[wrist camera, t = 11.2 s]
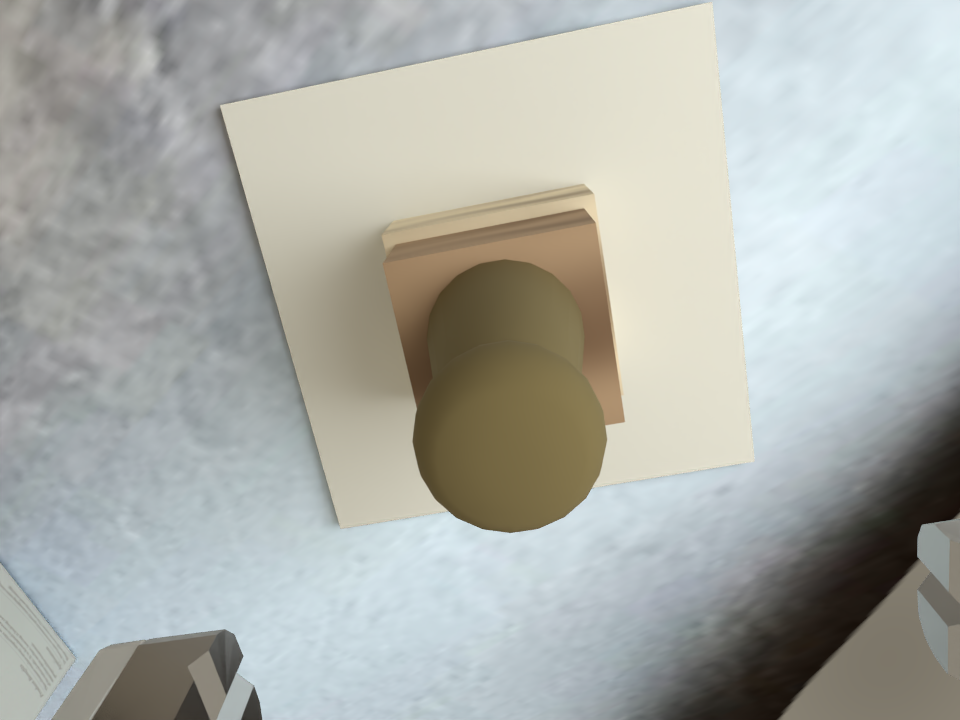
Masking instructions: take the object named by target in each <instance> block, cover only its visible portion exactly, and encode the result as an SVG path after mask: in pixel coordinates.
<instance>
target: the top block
mask: <svg viewBox="0 0 960 720" xmlns="http://www.w3.org/2000/svg"><path fill="white" fill-rule="evenodd" d="M503 259H507V260H514V261H521V262H528V263H531V264H534V265H536V266H538V267H540V268H542V269H544V270H546V271H548V272H550V273H552V274H553V275H554V276H555V277H556V278H557V279H558V280H559V281H561V282H562V283H563V284H564V285H565V286H566V287H567V288H568V289H569V290H570V291H571V293H572V295H573V297H574V299H575V301H576V303H577V305H578V307H579V309H580V311H581V314H582V321H583V328H584V335H585V338H584V352H583V365H582V374H583V375H584V376H585V377H586V378H587V379H588V381H589V383H590V385H591V387H592V389H593V391H594V393H595V394H596V396H597V398H598V400H599V402H600V404H601V407H602V409H603V412H604V420H605V425H611V424H617V423H623V422H625V418H624V411H623V404H622V397H621V391H620V384H619V377H618V370H617V363H616V357H615V350H614V343H613V336H612V329H611V323H610V316H609V309H608V302H607V295H606V289H605V282H604V275H603V268H602V261H601V255H600V248H599V241H598V234H597V227H596V222H595V221H594V220H593V219H592V217H591V216H590V215H589V214H588V212H587V211H586V210H585V209H584V208H583V209H578V210H572V211H567V212H562V213H557V214H551V215H546V216H541V217H536V218H531V219H525V220H520V221H515V222H510V223H505V224H499V225H494V226H489V227H484V228H478V229H473V230H468V231H463V232H458V233H452V234H447V235H442V236H437V237H432V238H426V239H421V240H416V241H411V242H406V243H400V244H396V245H395V246H394V247H393V249H392V250H391V252H390V253H389V255H388V256H387V258H386V259H385V261H384V262H383V263H382V264H383V268H384V272H385V276H386V280H387V285H388V289H389V293H390V297H391V302H392V306H393V310H394V314H395V318H396V323H397V327H398V331H399V335H400V340H401V344H402V348H403V352H404V356H405V361H406V365H407V369H408V373H409V378H410V382H411V386H412V390H413V395H414V399H415V403H416V407H417V408H418V405H419V403H420V401H421V399H422V397H423V395H424V393H425V391H426V389H427V387H428V385H429V383H430V381H431V380H432V379H433V376H432V370H431V363H430V357H429V350H428V343H427V332H428V324H429V315H430V313H431V311H432V309H433V307H434V305H435V302H436V300H437V298H438V296H439V294H440V293H441V291H442V290H443V289H444V288H445V287H446V286H447V285H448V284H449V283H450V282H451V281H452V280H453V279H454V278H455V277H456V276H457V275H459V274H461V273H463V272H464V271H466V270H468V269H470V268H472V267H474V266H476V265H478V264H480V263H486V262H491V261H497V260H503Z"/></svg>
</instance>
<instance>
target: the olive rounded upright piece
mask: <svg viewBox="0 0 960 720" xmlns="http://www.w3.org/2000/svg"><path fill="white" fill-rule="evenodd" d="M584 338H585V335H584V328H583V321H582V314H581V311H580V309H579V307H578V305H577V303H576V301H575V299H574V297H573V295H572V293H571V291H570V290H569V289H568V288H567V287H566V286H565V285H564V284H563V283H562V282H561V281H559V280H558V279H557V278H556V277H555V276H554V275H553V274H552V273H550V272H548V271H546V270H544V269H542V268H540V267H538V266H536V265H534V264H531V263H528V262H521V261H514V260H507V259H503V260H497V261H491V262H486V263H480V264H478V265H476V266H474V267H472V268H470V269H468V270H466V271H464V272H463V273H461V274H459V275H457V276H456V277H455V278H454V279H453V280H452V281H451V282H450V283H449V284H448V285H447V286H446V287H445V288H444V289H443V290H442V291H441V293H440V294H439V296H438V298H437V300H436V302H435V305H434V307H433V309H432V311H431V313H430V315H429V324H428V332H427V343H428V350H429V357H430V363H431V370H432V376H433V379H432V380H431V381H430V383H429V385H428V387H427V389H426V391H425V393H424V395H423V397H422V399H421V401H420V403H419V405H418V408H417V411H416V415H415V423H414V432H413V440H412V443H413V447H414V451H415V456H416V460H417V465H418V469H419V472H420V475H421V477H422V479H423V481H424V482H425V484H426V485H427V487H428V489H429V490H430V492H431V494H432V495H433V497H434V498H435V500H436V501H437V502H439V503H440V504H441V505H442V506H443V507H444V508H446V509H447V510H448V511H449V512H450V513H451V514H453V515H454V516H455V517H456V518H458V519H461V520H463V521H465V522H467V523H470V524H472V525H474V526H477V527H479V528H481V529H485V530H493V531H501V532H508V533H513V532H520V531H527V530H534V529H539V528H541V527H543V526H546V525H548V524H550V523H552V522H554V521H557V520H559V519H561V518H563V517H565V516H566V515H567V514H568V513H570V512H571V511H572V510H573V509H574V508H575V507H576V506H578V505H579V504H580V503H581V502H582V501H583V500H584V499H586V497H587V495H588V494H589V492H590V490H591V489H592V487H593V485H594V483H595V482H596V480H597V478H598V477H599V475H600V471H601V468H602V463H603V458H604V453H605V448H606V444H607V434H606V427H605V420H604V412H603V409H602V407H601V404H600V402H599V400H598V398H597V396H596V394H595V393H594V391H593V389H592V387H591V385H590V383H589V381H588V379H587V378H586V377H585V376H584V375H583V374H582V365H583V352H584Z"/></svg>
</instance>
